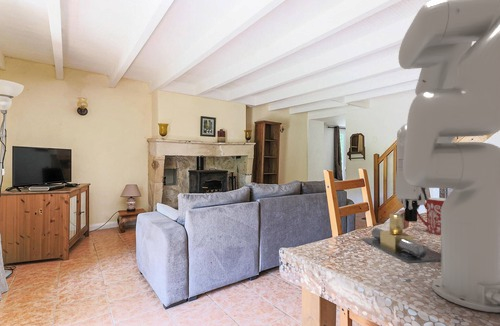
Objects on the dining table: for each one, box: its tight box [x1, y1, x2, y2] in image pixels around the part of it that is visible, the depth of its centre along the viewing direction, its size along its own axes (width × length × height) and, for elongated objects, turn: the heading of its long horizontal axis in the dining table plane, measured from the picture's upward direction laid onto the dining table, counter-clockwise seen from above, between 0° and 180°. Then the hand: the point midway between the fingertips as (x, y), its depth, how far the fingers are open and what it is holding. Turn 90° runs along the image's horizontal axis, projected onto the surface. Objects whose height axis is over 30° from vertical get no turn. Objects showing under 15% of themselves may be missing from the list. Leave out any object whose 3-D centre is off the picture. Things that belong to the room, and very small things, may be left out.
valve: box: [361, 227, 441, 264], centre depth 84 cm, size 22×14×5 cm, turn 9°
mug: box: [417, 197, 447, 236], centre depth 105 cm, size 13×9×14 cm
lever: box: [389, 208, 410, 234], centre depth 87 cm, size 14×4×6 cm, turn 136°
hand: (411, 221), depth 86 cm, fingers closed
